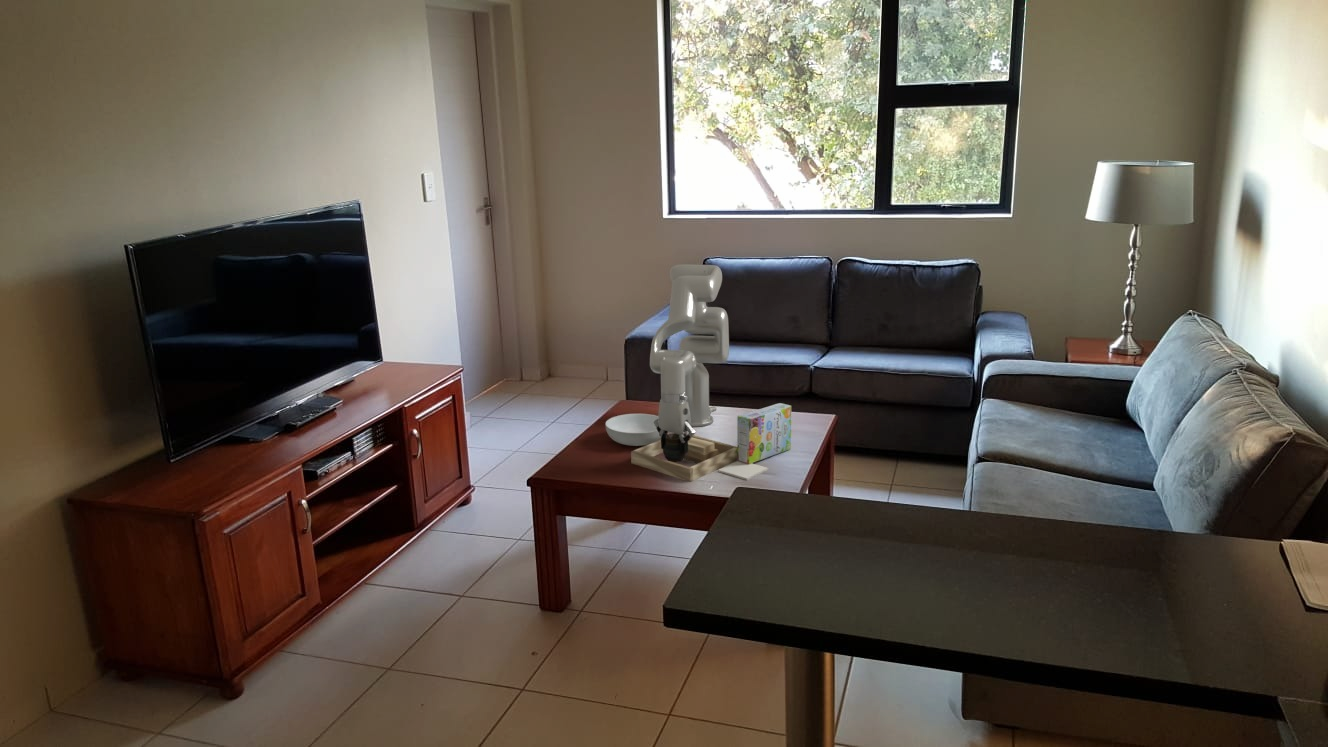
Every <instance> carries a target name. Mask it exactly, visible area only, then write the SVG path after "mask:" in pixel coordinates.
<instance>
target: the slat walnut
mask: <svg viewBox="0 0 1328 747" xmlns="http://www.w3.org/2000/svg"><path fill="white" fill-rule="evenodd" d="M683 460H685V461H686V460H687V461H691V462H694V463H695V464H696V463H697V464H698V463H701V462H703V460H700V459H697V458H694V457H691V456H688V455H685V458H684V459H683Z"/></svg>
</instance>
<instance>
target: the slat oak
mask: <svg viewBox="0 0 1328 747" xmlns="http://www.w3.org/2000/svg"><path fill="white" fill-rule="evenodd" d="M686 455H688V456H691V457H694V458H697V459H700V460H703V461H705V460H707V459H710V458H712V457H714V456H717V455H718V449H712V450H710V451H708V452H705V453H700V452H696V451H692V450H688V452H687V453H686Z"/></svg>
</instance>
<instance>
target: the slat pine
mask: <svg viewBox="0 0 1328 747" xmlns="http://www.w3.org/2000/svg"><path fill="white" fill-rule="evenodd" d="M714 448H715V443H713V442H709V441H705V440H701V439H696V438H691V439H690V440H689V441H688V450H692V451H696V452H700V453H705V452H708V451H710V450H712V449H714Z"/></svg>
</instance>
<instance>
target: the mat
mask: <svg viewBox="0 0 1328 747" xmlns="http://www.w3.org/2000/svg"><path fill="white" fill-rule="evenodd" d="M768 470H769V467H766V466H761V465H759V464H754V463H751V464H747V463H744V462H741V461H735V462H733V463H730V464H728V465H726V466H724V467H722V468H720V469H717V471H718V473H721V474H725V475H728V476H730V477H731V476H732V477H734V478H737V479H738V478H739V479H741V480H746V481H748V480H750V479H753V478H755V477H756V476H758V475H760V474H763V473H765V472H766V471H768Z"/></svg>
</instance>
